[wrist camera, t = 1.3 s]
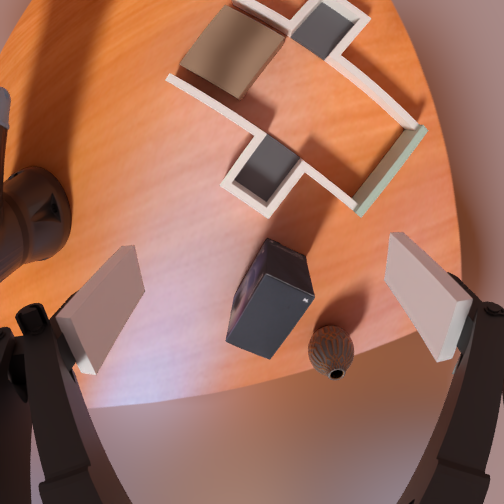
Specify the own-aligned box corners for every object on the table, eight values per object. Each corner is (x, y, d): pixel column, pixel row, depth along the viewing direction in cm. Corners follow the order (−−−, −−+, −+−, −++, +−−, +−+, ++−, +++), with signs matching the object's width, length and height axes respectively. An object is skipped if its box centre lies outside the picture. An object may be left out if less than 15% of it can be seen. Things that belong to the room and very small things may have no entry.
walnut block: (187, 69, 32) (179, 64, 29) (228, 15, 29) (225, 4, 26) (240, 101, 34) (238, 98, 30) (282, 46, 31) (284, 37, 27)
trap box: (143, 129, 35) (130, 130, 32) (269, -34, 26) (270, -48, 22) (319, 248, 41) (324, 261, 37) (439, 94, 31) (454, 92, 28)
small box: (264, 234, 40) (264, 271, 31) (307, 255, 41) (319, 296, 32) (231, 296, 44) (222, 342, 35) (271, 313, 45) (271, 361, 36)
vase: (332, 310, 45) (344, 348, 37) (356, 335, 46) (369, 373, 38) (297, 335, 47) (302, 375, 39) (322, 358, 49) (330, 396, 40)
